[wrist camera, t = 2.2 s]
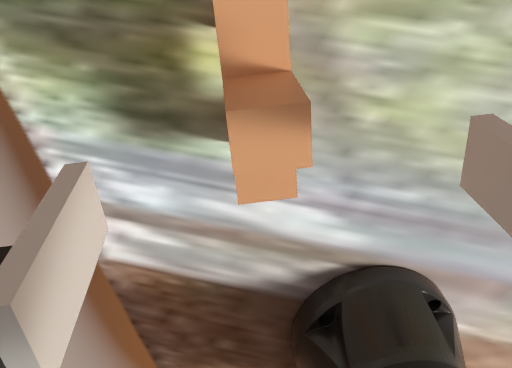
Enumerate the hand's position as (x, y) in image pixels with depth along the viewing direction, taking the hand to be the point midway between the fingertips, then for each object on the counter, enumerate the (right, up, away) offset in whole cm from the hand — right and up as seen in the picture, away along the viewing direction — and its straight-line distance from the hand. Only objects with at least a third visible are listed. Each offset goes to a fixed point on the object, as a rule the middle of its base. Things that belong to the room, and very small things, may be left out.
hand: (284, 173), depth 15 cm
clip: (-2, +7, +14) cm, 16 cm away
